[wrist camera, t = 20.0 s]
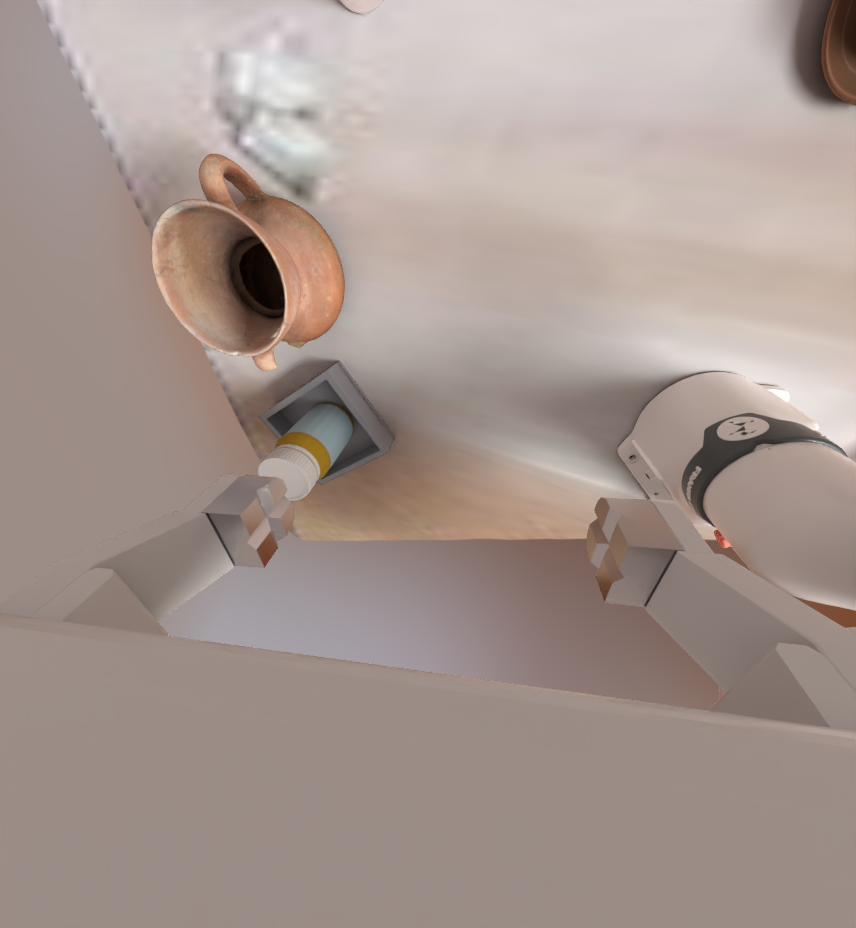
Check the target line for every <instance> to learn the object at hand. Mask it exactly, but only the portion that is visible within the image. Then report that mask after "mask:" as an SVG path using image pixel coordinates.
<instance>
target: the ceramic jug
mask: <svg viewBox="0 0 856 928" xmlns="http://www.w3.org/2000/svg"><path fill="white" fill-rule="evenodd" d="M224 178H226V179H227V180H228V181H230V182H231V183H232V184H233V185H234V186H235V187H236V188H238V189H239V190H240V191H241V192H242V193H243V194H244V196H245V197H247V200H245V201H244V202H242V203H240V204H239V205H237V206H236V205H235V204H234V202H233V201H232V199H231V197H230V195H229V192H228V190H227V186H226V183H225V181H224ZM199 179H200V183H201V186H202V189H203V192H204V194H205V196H206V198H207V200H208V201H207V200H195V199H192V200H183V201H180V202H177V203H175V204H173V205H172V206H170V207H169V208H168V209H166V210H165V211H164V212H163V213H162V214H161V215H160V217H159V219H158V221H157V222H156V226H155V228H154V231H153V236H152V246H151V249H152V266H153V270H154V274H155V278H156V281H157V284H158V287H159V289H160V291H161V294H162V295H163V297H164V300H165V302H166V303H167V305H168V307H169V308H170V309H171V311H172V312H173V313H174V315H175V316H176V318H177V319H178V320H179V322H180V323H181V324H182V325H183V326H184V327H185V328H186V329H187V330H188V331H189V332H190V333H191V334H192V335H193V336H195V337H196V338H197V339H198V340H200V341H201V342H202V343H204V344H205V345H207V346H208V347H210V348H212V349H214V350H217V351H219V352H221V353H224V354H228V355H232V356H236V355H243V356H245V357H249V356H252V357H253V360H254V362H255V364H256V366H257V367H258V368H260V369H261V370H264V371H268V370H274V369H276V368H277V364H276V362H275V359H274V353H273V350H274V346H275V345H277V344H278V343H279V342H280V341H281V340H282V341H286V342H288V344H289V345H292V346H294V347H298V348H301V347H302V346H303V345H304V344H305V343H307V342H308V341H311V340H314V339H316V338H318V337H320V336H321V335H323V334H324V333H326V332H327V331H328V330H329V329H330V328H331V327H332V325H333V324H334V323H335V321H336V320H337V318H338V316H339V313H340V311H341V308H342V304H343V299H344V290H345V283H344V274H343V269H342V265H341V261H340V258H339V255H338V253H337V250H336V248H335V246H334V244H333V242H332V240H331V239H330V237H329V235H328V234H327V233H326V231H325V230H324V229H323V227H322V226H321V225H320V224H319V222H318V221H317V220H316V219H315V218H314V217H313V216H312V215H310V214H309V213H308V212H307V211H305V210H304V209H303V208H301V207H300V206H298V205H296V204H294V203H292V202H290V201H288V200H285V199H282V198H278V197H273V196H268V195H267V194H265V193H264V192H263V191H262V190H261V189H260V187H259V186H258V185H257V183H256V182H255V181H254V180H253V179H252V178H251V177H250V176H249V174H247V172H246V171H245V170H243V169H242V168H241V167H240V166H239V165H237V164H236V163H234V162H233V161H231V160H230V159H228V158H227V157H224V156H222V155H218V154H210V155H208V156H207V157H206V158H205V159H204V160H203V161H202V163H201V166H200V169H199Z"/></svg>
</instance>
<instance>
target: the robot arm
mask: <svg viewBox="0 0 856 928" xmlns="http://www.w3.org/2000/svg"><path fill="white" fill-rule="evenodd" d="M789 398H790V395H789V393H788V392H787V391H786V390H784V389H783V388H781V387H778V386H769V385H758V384H756V383H754V382H752V381H750V380H748V379H747V378H745V377H743V376H740V375H737V374H734V373H728V372H709V373H703V374H698V375H695V376H691V377H688V378H686V379H683V380H681V381H679V382H677V383H675V384H673V385H671V386H669V387H668V388H666V389H665V390H663V391H662V392H661V393H659V394H658V395H657V396H656V397H655V398H653V399H652V400H651V401H650V402H649V403H648V405H647V406H646V407H645V408H644V410H643V411H642V412H641V414H640V416H639V418H638V419H637V422H636V424H635V426H634V429H633V431H632V432H631V434H630V435H629V436H628V437H627V438H626V439H625V440H624V441H623V442H622V443H621V444H620V446H619V447H618V450H617V452H618V455H619V456H620V457H621V459H622V460H623V462H624V463H625V464H626V466H627V467H628V468H629V470H630V471H631V473H632V474H633V475H634V477H635V478H636V479H637V481H638V482H639V484H640V485H641V486H642V488H643V489H644V490H645V492H646V493H647V495H648V496H649V497H650V499H647V500H639V499H621V498H603V497H601V498H600V499H599V500H598V502H597V504H596V507H595V513H596V515H597V518H598V519H596V520H595V521H593V522H592V523H591V524H590V526H589V529H588V533H587V551H588V555H589V558H590V562H591V563H593V564H594V565H595V566H596V567H597V568H598V569H599V570H598V573H597V576H596V579H597V582H598V585H599V588H600V591H601V594H602V597H603V600H604V602H606V603H615V604H622V605H630V606H638V607H645V610H646V611H647V612H648V613H649V614H650V615H651V616H652V617H653V618H654V619H655V620H656V621H657V622H658V623H659V624H660V625H661V626H662V627H663V628H664V630H666V631H667V633H668V634H669V635H670V636H671V637H672V638H673V639H674V640H675V641H676V642H677V643H678V644H679V645H680V646H681V647H682V648H683V649H684V650H685V651H686V652H687V653H688V654H689V655H690V656H691V657H692V658H693V659H694V660H695V661H696V662H697V663H698V665H700V666H701V667H702V668H703V670H704V671H705V672H706V673H707V674H708V675H709V676H710V677H711V678H712V679H713V680H714V681H715V682H716V683H717V684H718V685H719V686H720V688H719V701H718V702H717V703H716V704H715V705H714V706H713V707H712V708H711V709H710V711H706V710H699V709H691V708H685V707H677V706H670V705H663V704H655V703H648V702H641V701H634V700H627V699H619V698H612V697H605V696H597V695H590V694H583V693H576V692H569V691H561V690H555V689H547V688H540V687H533V686H526V685H518V684H510V683H504V682H497V681H490V680H482V679H475V678H467V677H460V676H454V675H446V674H439V673H432V672H424V671H417V670H410V669H403V668H396V667H388V666H382V665H375V664H367V663H360V662H352V661H346V660H338V659H331V658H323V657H317V656H309V655H302V654H295V653H288V652H280V651H273V650H265V649H259V648H250V647H244V646H237V645H230V644H222V643H215V642H208V641H200V640H193V639H186V638H179V637H171V636H168V633H167V632H166V630H165V629H164V628H163V627H162V626H161V625H160V623H159V621H160V620H161V619H163V618H164V617H166V616H167V615H168V614H170V613H171V612H172V611H174V610H175V609H177V608H178V607H180V606H181V605H182V604H184V603H185V602H187V601H188V600H189V599H191V598H192V597H193V596H195V595H196V594H198V593H199V592H200V591H202V590H203V589H205V588H206V587H207V586H209V585H210V584H212V583H213V582H214V581H216V580H217V579H219V578H220V577H221V576H223V575H224V574H225V573H227V572H228V571H230V570H231V569H232V568H234V566H235V565H236V566H248V567H262V568H265V566H266V565H267V563H268V562H269V560H270V559H271V558H272V556H273V555H274V553H275V552H276V550H277V549H278V545H277V541H278V540H280V539H282V538H283V537H285V536H287V534H288V532H289V531H290V529H291V528H292V524H293V520H294V508H293V505H292V502H290V501H289V500H288V499H287V498H286V497H285V496H284V495H285V493H286V491H287V488H286V485H285V483H284V480H282V479H280V478H278V477H267V476H254V475H241V474H226V475H223V476H221V477H220V478H219V479H218V480H217V481H215V483H213V484H212V485H211V486H210V487H209V488H208V489H206V490H205V491H204V492H203V493H202V494H201V495H200V496H198V497H197V498H196V499H195V500H194V501H193V502H191V503H190V504H189V505H188V506H187V507H186V508H184V509H183V510H182V511H175V512H172V513H170V514H168V515H165V516H163V517H161V518H158V519H156V520H154V521H151V522H149V523H146V524H144V525H142V526H139V527H137V528H135V529H132V530H130V531H128V532H125V533H123V534H121V535H118V536H116V537H113V538H111V539H109V540H107V541H104V542H102V543H99V544H97V545H95V546H92V547H90V548H88V549H85V550H83V551H81V552H78V553H76V554H73V555H71V556H69V557H66V558H64V559H62V560H59V561H57V562H56V563H54V564H53V565H52V566H50V567H49V568H48V569H46V570H45V571H43V572H42V573H41V574H39V575H38V576H37V577H35V578H34V579H33V580H31V581H30V582H29V583H27V584H26V585H25V586H23V587H22V588H21V589H19V590H18V591H16V592H15V593H14V594H12V595H11V596H10V597H8V598H7V599H6V600H4V601H3V602H2V603H0V928H856V627H853V628H844V627H842V626H840V625H839V624H837V623H836V622H834V621H832V620H831V619H829V618H827V617H826V616H824V615H822V614H821V613H819V612H817V611H816V610H814V609H812V608H811V607H809V606H807V605H806V604H804V603H802V602H801V601H799V600H797V599H796V598H794V597H792V596H791V595H793V596H795V597H798V598H802V599H805V600H809V601H813V602H818V603H822V604H827V605H832V606H837V607H842V608H847V609H851V610H856V462H854V461H853V460H851V459H849V458H848V457H847V455H846V453H845V452H844V451H843V450H842V448H840V447H839V446H838V445H836V444H835V443H834V442H833V441H832V440H831V439H829V438H828V437H826V436H825V435H823V434H821V433H819V432H817V429H818V428H819V427H818V425H817V423H816V422H815V421H813V420H812V419H811V418H809V417H808V416H806V415H805V414H804V413H802V412H801V411H799V410H798V409H796V408H795V407H793V406H792V405H791V404H789ZM632 455H634V456H633V457H631V458H629V457H630V456H632ZM692 524H694V525H701V526H709V525H712V526H714V527H716V528H717V529H718V530H716V531H714V534H715V537H716V539H717V541H718V542H719V544H720V545H721V546H722V547H724V548H726V547H730V546H731V547H732V548H733V549H734V550H735V552H736V553H737V554H738V555H739V556H740V558H741V559H742V560H743V561H744V563H745V564H746V565H747V566H748V567H749V569H750V570H751V571H752V572H751V571H749V570H748V569H746V568H744V567H742V566H741V565H739V564H738V563H736V562H734V561H732V560H731V559H729V558H728V557H726V556H724V555H721V554H714V553H713V551H712V550H711V549H710V547H709V546H708V545H707V543H706V542H705V541H704V539H703V538H702V537H701V535H700V534H699V533H698V531H697V530H696V529H695V527H694V526H693V525H692ZM787 593H788V594H787ZM789 594H790V595H789Z"/></svg>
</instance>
